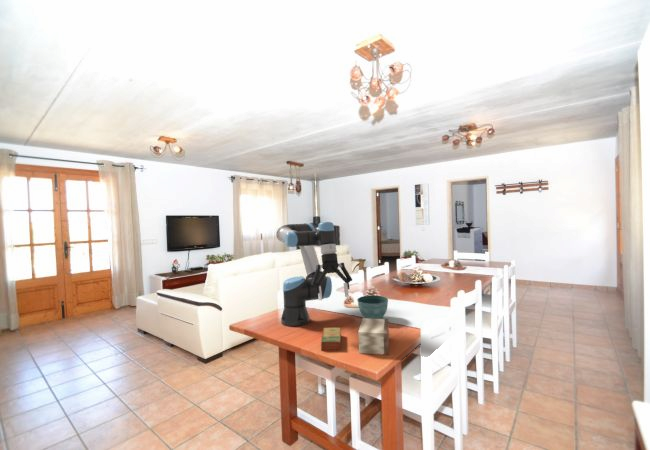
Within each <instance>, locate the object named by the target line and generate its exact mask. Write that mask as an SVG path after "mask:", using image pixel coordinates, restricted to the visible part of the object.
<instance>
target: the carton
mask: <svg viewBox="0 0 650 450" xmlns="http://www.w3.org/2000/svg"><path fill="white" fill-rule="evenodd" d="M341 334H342V328H341V327H323V329H322V335H321V341H320V351H321V352H323V351H324V352H326V351H329V352H330V351H341V350H342V335H341Z"/></svg>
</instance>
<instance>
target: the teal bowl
mask: <svg viewBox="0 0 650 450" xmlns="http://www.w3.org/2000/svg"><path fill="white" fill-rule="evenodd" d="M388 302H389V299H388V297H385V296H382V295H374V294H373V295H372V294H371V295H364V296H360V297H358V298H357V305H358V309H359V312H360V313H361V315H362V317H363V318H371V319H384V318H383V317H384V316H385V315H386V313H387V309H388V306H389V305H388V304H389V303H388Z"/></svg>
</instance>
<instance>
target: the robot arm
mask: <svg viewBox="0 0 650 450" xmlns="http://www.w3.org/2000/svg"><path fill="white" fill-rule="evenodd" d="M317 226H318V229H317V230H315V226H314V225H313V224H311V223H307V222H306V223H292V224H289V223H288V224H285V225H282V226H280V227H279V228H277V231H276V238H277V240H278V241H279V242H282V243H285V245H286V246H287V248H296V247H299V248H300V249H299V250H300V253H301V257H302V261H303V265H304V269H305V271H306V276H305V277H304V276H292V277H290V278H287V279H285V280H284V281H283V284H282V292H283V311H282V313H281V314H282V315H281V317H280V319H281V320H280V323H281V324H282V325H283V326H287V327H298V326H304V325H306V324H308V323H309V322H310V314H309V311H308V309H307V306H306V305H307V304H306V302H308V301H314V300H316V301H317V300H318V301H323V300H324V299H328V298H330V297H331V295H332V292H333V291H332V289H333V284H332V283H333V282H332V279H331V277H330V276H326V275H327V274H333V273H335V274H336V275H337V276H338V277H339V278H340V279H341V280H342V281H343V282H344V283H343V290H344V291H343V292H344V297H345V298H349V297H350V296H349V295H350V293H349V290H350V282H352V281H353V278H352V277H351V275H350V272H348V270H347V268H346V267H345V262H339V261H338V253H337V244H336V236H335V235H336V234H335V228H334V226H335V225H334V223H333V222H331V221H322V222H319V223H318V224H317ZM315 246H316V247H320V253H321V254H322V255H321V263H322V264H320V263H319V257H318V255H317V251H316V249H315ZM339 268H340V269H341V270H340V269H339ZM322 269H323V271H322Z"/></svg>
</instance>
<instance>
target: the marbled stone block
mask: <svg viewBox="0 0 650 450" xmlns="http://www.w3.org/2000/svg"><path fill="white" fill-rule="evenodd" d="M389 328H390V327H389V319H388V318H383V319H371V318H364V317H362V319H361V322H360V326H359V328H358V333H357V335H358V336H357V337H358V353H359V354H370V355H383V354H387V356H388V355H389V347H390V346H389V342H390V335H389V334H390V331H389Z"/></svg>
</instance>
